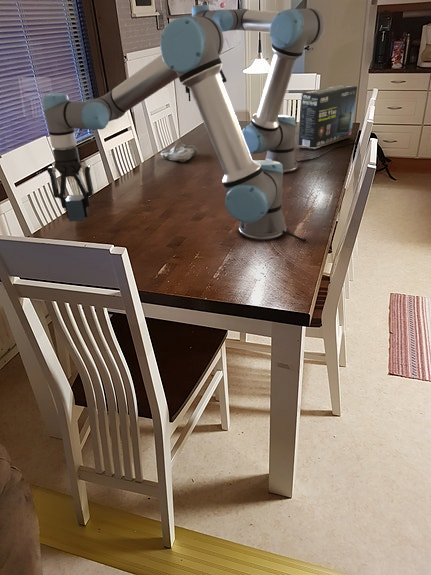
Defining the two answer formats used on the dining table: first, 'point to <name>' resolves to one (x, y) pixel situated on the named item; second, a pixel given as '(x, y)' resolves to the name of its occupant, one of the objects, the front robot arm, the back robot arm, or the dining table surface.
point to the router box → (326, 115)
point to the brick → (75, 208)
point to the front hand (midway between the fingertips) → (78, 215)
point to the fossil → (179, 152)
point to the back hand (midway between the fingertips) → (204, 100)
